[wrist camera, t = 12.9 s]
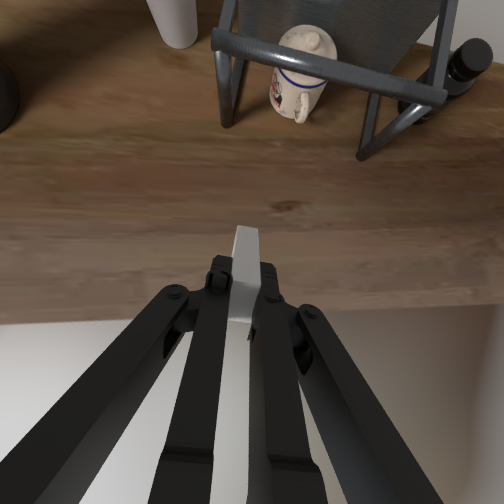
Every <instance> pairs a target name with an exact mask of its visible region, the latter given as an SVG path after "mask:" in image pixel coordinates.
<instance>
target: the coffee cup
mask: <svg viewBox="0 0 504 504" xmlns="http://www.w3.org/2000/svg"><path fill="white" fill-rule="evenodd" d="M146 1H147V4H148V6H149V8H150V11H151V13H152V15H153V18H154V20H155V22H156V25H157V27H158V29H159V32H160V34H161V36H162V39H163V40H164V42H165V43H166V44H167V45H169V46H170V47H173V48H176V49H185V48H188V47H190V46H191V45H192V44H193V43H194V42H195V41H196V39H197V35H198V27H197V13H196V0H146Z"/></svg>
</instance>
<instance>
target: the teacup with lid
mask: <svg viewBox="0 0 504 504" xmlns="http://www.w3.org/2000/svg"><path fill="white" fill-rule="evenodd" d="M278 45H282V46H286V47H290V48H293V49H297V50H301V51H304V52H308V53H312V54H315V55H319V56H323V57H327V58H330V59H334V60H337V51H336V47H335V44H334V42H333V40H332V39H331V37H330V36H329V35H328V34H327V33H326V32H325V31H324V30H322V29H321V28H318V27H316V26H313V25H299V26H296V27H293V28H292V29H290V30H289V31H287V32H286V33H285V34H284V35H283V37H282V38H281V40H280V41H279V43H278ZM326 83H327V81H325V80H321V79H318V78H314V77H310V76H306V75H302V74H299V73H295V72H291V71H287V70H283V69H280V68H276V67H274V72H273V76H272V81H271V86H270V93H269V95H270V101H271V103H272V105H273V107H274V109H275V110H276V111H277V112H278V113H279V114H281V115H282V116H284V117H287V118H291V119H295V121H296V122H297V123H303V122H304V121H305V120H306V118H307V116H308V114H309V113H310V112H311V111H312V110H313V108H314V106H315V104H316V103H317V101H318V99H319V97H320V95H321V93H322V91H323V89H324V87H325V85H326Z"/></svg>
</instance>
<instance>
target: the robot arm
mask: <svg viewBox="0 0 504 504" xmlns="http://www.w3.org/2000/svg"><path fill="white" fill-rule="evenodd" d="M18 102H19V92H18V87H17V83H16V81H15V78H14V77H13V75H12V73H11V72H10V70H9V69H8V68H7V67H6V66H5V65H4V64H3V63H2V62H0V132H1V131H2V130H3V129H4V128H5V127H6V126H7V125H8V124H9V123H10V122H11V120H12V119H13V117H14V115H15V113H16V110H17V107H18ZM251 318H252V325H251V328H250V332H249V335H248V339H247V340H249V339H250V371H249V373H250V374H249V378H250V380H249V472H248V496H247V502H246V504H328V501H327V497H326V491H325V485H324V481H323V477H322V474H321V471H320V469H319V467H318V466H317V465H316V464H315V463H314V462H313V460H312V458H311V454H310V448H309V442H308V436H307V430H306V424H305V418H304V413H303V407H302V401H301V395H300V390H299V383H300V386H301V388H302V391H303V393H304V396H305V398H306V401H307V403H308V406H309V408H310V410H311V413H312V415H313V418H314V421H315V423H316V426H317V428H318V431H319V433H320V435H321V438H322V441H323V443H324V445H325V448H326V451H327V453H328V456H329V458H330V460H331V463H332V465H333V468H334V470H335V473H336V475H337V478H338V480H339V483H340V485H341V488H342V490H343V493H344V495H345V498H346V500H347V502H348V504H444V503H443V502H442V500H441V499H440V497H439V496H438V494H437V492H436V491H435V489H434V488H433V486H432V484H431V483H430V481H429V480H428V478H427V477H426V475H425V474H424V472H423V470H422V469H421V467H420V466H419V464H418V462H417V461H416V459H415V458H414V456H413V455H412V453H411V451H410V450H409V448H408V447H407V445H406V443H405V442H404V441H403V439H402V437H401V436H400V434H399V432H398V431H397V430H396V428H395V426H394V425H393V423H392V421H391V420H390V418H389V417H388V415H387V414H386V412H385V410H384V409H383V407H382V406H381V404H380V403H379V401H378V400H377V398H376V396H375V395H374V394H373V392H372V390H371V388H370V387H369V385H368V384H367V382H366V380H365V379H364V377H363V376H362V374H361V373H360V371H359V369H358V368H357V366H356V365H355V363H354V362H353V360H352V359H351V357H350V355H349V354H348V352H347V351H346V349H345V348H344V346H343V344H342V343H341V341H340V340H339V338H338V336H337V335H336V333H335V332H334V330H333V329H332V327H331V325H330V324H329V322H328V321H327V319H326V317H325V316H324V314H323V313H322V312H321V310H320V309H318V308H317V307H315V306H313V305H310V304H303V305H301V306H300V307H299V308H296V307H294V306H291V305H289V304H287V303H286V302H285V300H284V298H283V296H282V295H281V294H280V292H279V286H278V279H277V273H276V268H275V267H274V266H273V264H271V263H265V262H260V258H259V240H258V229H257V228H251V227H246V226H241V225H238V226H237V231H236V236H235V242H234V247H233V252H232V257H227V256H221V255H217V256H216V257H215V258H213V262H212V265H211V269H210V271H209V272H208V273H207V276H206V283H205V287H204V288H202V289H200V290H197V291H188V289H187V288H186V287H184V286H182V285H178V284H172V285H168V286H166V287H164V288H163V289H162V290H161V291H160V292H159V293H158V294H157V295H156V296H155V297H154V298H153V299H152V300H151V301H150V303H149V304H148V305H147V306H146V307H145V308H144V309H143V310H142V311H141V312H140V313H139V314H138V315H137V316H136V318H135V319H134V320H133V321H132V322H131V323H130V324H129V325H128V326H127V327H126V328H125V329H124V330H123V331H122V332H121V334H120V335H119V336H118V337H117V338H116V339H115V340H114V341H113V342H112V343H111V344H110V345H109V346H108V347H107V349H106V350H105V351H104V352H103V353H102V354H101V355H100V356H99V357H98V358H97V359H96V360H95V361H94V363H93V364H92V365H91V366H90V367H89V368H88V369H87V370H86V371H85V372H84V373H83V374H82V375H81V376H80V378H79V379H78V380H77V381H76V382H75V383H74V384H73V385H72V386H71V387H70V388H69V389H68V390H67V391H66V393H65V394H64V395H63V396H62V397H61V398H60V399H59V400H58V401H57V402H56V403H55V404H54V405H53V406H52V407H51V409H50V410H49V411H48V412H47V413H46V414H45V415H44V416H43V417H42V418H41V419H40V420H39V421H38V423H37V424H36V425H35V426H34V427H33V428H32V429H31V430H30V431H29V432H28V433H27V434H26V435H25V436H24V437H23V438H22V440H21V441H20V442H19V443H18V444H17V445H16V446H15V447H14V448H13V449H12V450H11V451H10V452H9V453H8V455H7V456H6V457H5V458H4V459H3V460H2V461H1V462H0V504H79V502H80V501H81V499H82V497H83V496H84V494H85V493H86V491H87V489H88V488H89V486H90V485H91V483H92V481H93V480H94V478H95V477H96V475H97V473H98V472H99V470H100V468H101V467H102V465H103V464H104V462H105V461H106V459H107V457H108V456H109V454H110V453H111V451H112V449H113V448H114V446H115V445H116V443H117V442H118V440H119V438H120V437H121V435H122V434H123V432H124V430H125V429H126V427H127V426H128V424H129V422H130V421H131V419H132V418H133V416H134V414H135V413H136V411H137V409H138V408H139V406H140V405H141V403H142V402H143V400H144V398H145V397H146V395H147V394H148V392H149V390H150V389H151V387H152V386H153V384H154V382H155V381H156V379H157V378H158V376H159V374H160V373H161V371H162V369H163V368H164V366H165V365H166V363H167V362H168V360H169V358H170V357H171V355H172V354H173V352H174V350H175V349H176V347H177V346H178V344H179V342H180V341H181V339H182V338H183V336H184V334H185V332H190V331H194V332H193V337H192V340H191V344H190V349H189V352H188V356H187V360H186V364H185V368H184V372H183V376H182V379H181V383H180V387H179V391H178V395H177V399H176V403H175V407H174V411H173V415H172V419H171V423H170V426H169V431H168V434H167V439H166V442H165V446H164V449H163V451H162V453H161V456H160V459H159V462H158V466H157V469H156V473H155V477H154V481H153V484H152V488H151V492H150V496H149V500H148V504H209V503H210V493H211V483H212V473H213V461H214V455H213V450H214V440H215V431H216V421H217V412H218V402H219V393H220V385H221V384H220V383H221V375H222V366H223V357H224V347H225V339H226V329H227V320H232V321H240V322H246V323H250V322H251ZM298 381H299V383H298Z"/></svg>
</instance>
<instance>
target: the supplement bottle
mask: <svg viewBox="0 0 504 504" xmlns="http://www.w3.org/2000/svg"><path fill="white" fill-rule="evenodd" d="M492 60H493V52H492V49H491V47H490V46H489V44H488V43H487V42H486V41H484V40H482V39H479V38H472V39H469V40H468V41H466V42H465V43H464V44H463V45H461V46H460V47H459V48H458V49H457V50H456V51H454V52H449V55H448V61H447V67H446V72H445V78H444V83H443V89H445V90H447V91H448V94H447V97H446V100H445V101H444V103H443V104H442V105H441V106H440V107H439V108H438V109H431V110H429V111H428V112H427V113H426V114H424V115H423V116H422V117H420V118H419V119H418V120H416V121H415V122H414V123H413V124H412V125H420V124H423V123H425V122H426V121H428V120H429V119H431V118H432V117H434V116H435V115H436V114H438V113H439V112H441V111H442V110H443V109H445V108H446V107H447V106H449V105H450V104H452V103H453V102H454V101H456V100H457V99H459V98H460V97H461V96H463V95H464V94H465V93H467V92H468V91H469V90H470V88H471V87H472V86H473V84H474V82H475V79H476V78H477V77H478V76H479V75H480V74H481V73H482V72H484V71H485V70H486V69H487V68H488V67H489V66H490V65H491V63H492ZM428 72H429V68H428V69H427V70H426V71H425V72H424V73H423V74H422V75H421V76H420V77H419V78H418V79H417V80H416V82H419V83H423V84H426V83H427V78H428ZM411 104H412V103H409V102H405V101H401V100H399V101H398V112H399V115H400V114H401V113H402V112H403V111H405V110H406V109H407V108H408V107H409V106H410V105H411Z"/></svg>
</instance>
